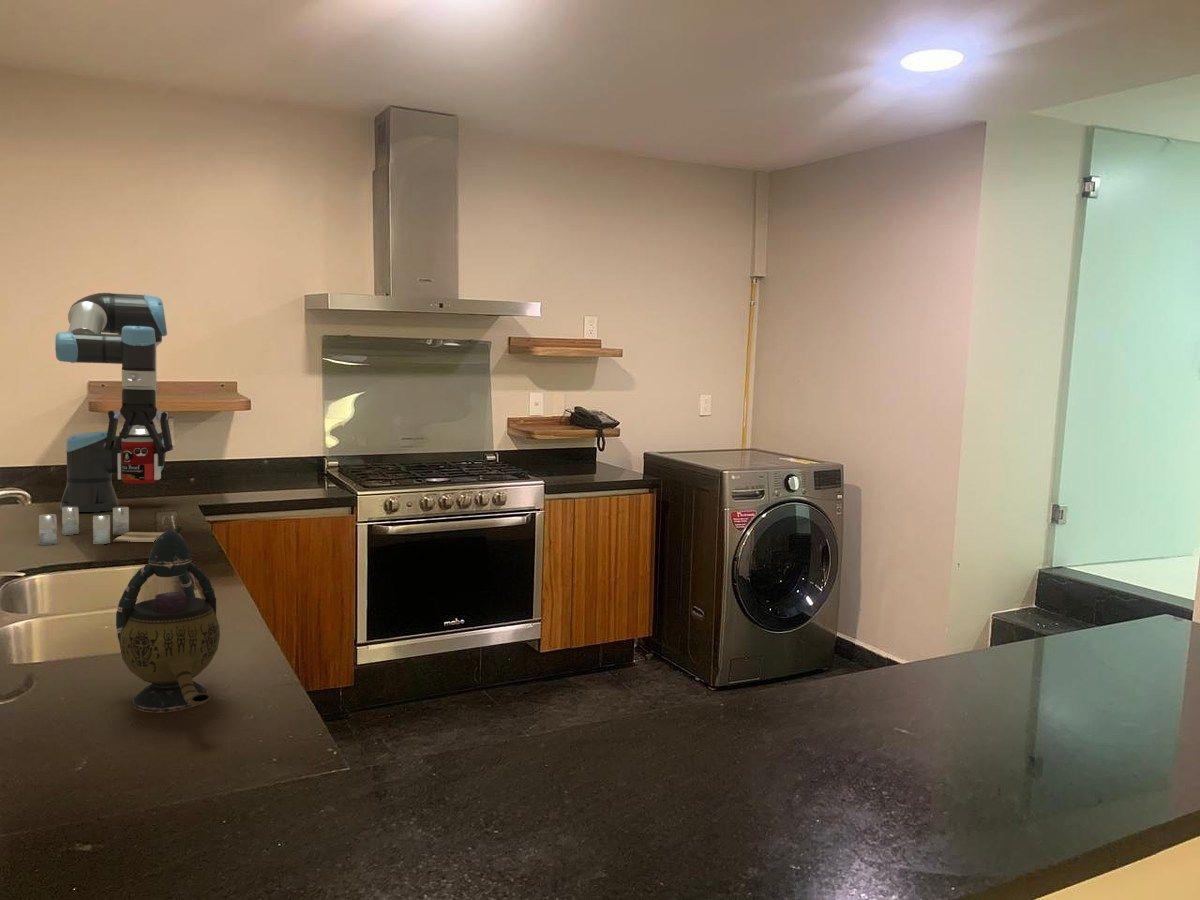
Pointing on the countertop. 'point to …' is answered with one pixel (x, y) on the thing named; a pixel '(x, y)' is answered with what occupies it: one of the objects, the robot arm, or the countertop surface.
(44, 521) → the cylinder
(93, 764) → the countertop surface
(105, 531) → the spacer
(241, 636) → the countertop surface
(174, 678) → the teapot
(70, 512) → the cylinder
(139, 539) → the coaster
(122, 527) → the cylinder
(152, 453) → the canned food
